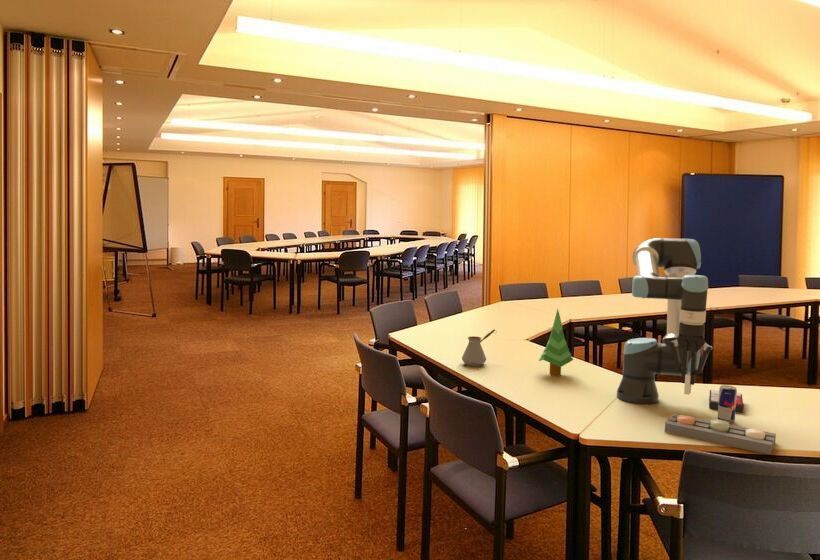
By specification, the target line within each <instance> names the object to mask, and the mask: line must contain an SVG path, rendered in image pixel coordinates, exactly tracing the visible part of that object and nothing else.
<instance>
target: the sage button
mask: <svg viewBox="0 0 820 560" xmlns="http://www.w3.org/2000/svg"><path fill="white" fill-rule="evenodd" d="M710 421H711V424H710V429H711V430H716V431H721V432H726V433H728V430H729V425H730V423H728V422H726V421H723V420H718V419H710Z"/></svg>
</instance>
